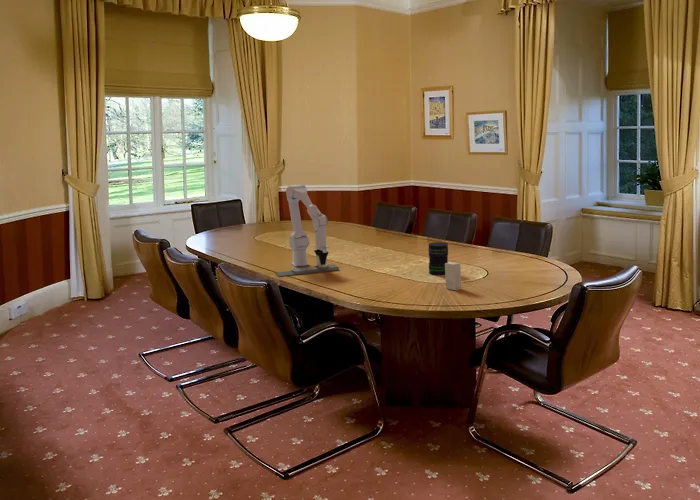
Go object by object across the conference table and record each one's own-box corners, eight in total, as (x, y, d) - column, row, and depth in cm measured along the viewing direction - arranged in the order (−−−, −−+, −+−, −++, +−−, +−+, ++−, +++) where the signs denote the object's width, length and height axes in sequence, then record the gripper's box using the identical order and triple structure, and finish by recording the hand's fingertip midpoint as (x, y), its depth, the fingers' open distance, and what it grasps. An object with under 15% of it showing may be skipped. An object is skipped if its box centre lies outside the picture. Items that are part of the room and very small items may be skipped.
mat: (275, 273, 361) (274, 272, 361) (291, 271, 364) (291, 270, 364) (278, 276, 353) (278, 276, 353) (295, 275, 356) (295, 274, 355)
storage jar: (425, 272, 350) (425, 243, 348) (443, 270, 353) (442, 241, 350) (433, 276, 341) (433, 246, 338) (451, 274, 344) (451, 244, 341)
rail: (291, 271, 363) (290, 268, 363) (334, 267, 371) (334, 263, 370) (294, 275, 356) (294, 271, 356) (338, 270, 363) (338, 266, 363)
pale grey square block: (316, 268, 366) (316, 255, 364) (324, 267, 367) (324, 254, 366) (319, 269, 362) (318, 256, 360) (327, 268, 363) (326, 255, 362)
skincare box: (461, 289, 314) (461, 263, 312) (455, 290, 311) (455, 264, 309) (451, 286, 319) (450, 261, 316) (444, 288, 316) (444, 263, 313)
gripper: (332, 240, 356) (333, 265, 358) (324, 235, 369) (325, 260, 372) (318, 241, 354) (320, 267, 356) (311, 236, 367) (312, 261, 370)
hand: (321, 263), depth 364 cm, fingers closed on pale grey square block, 4 cm apart
